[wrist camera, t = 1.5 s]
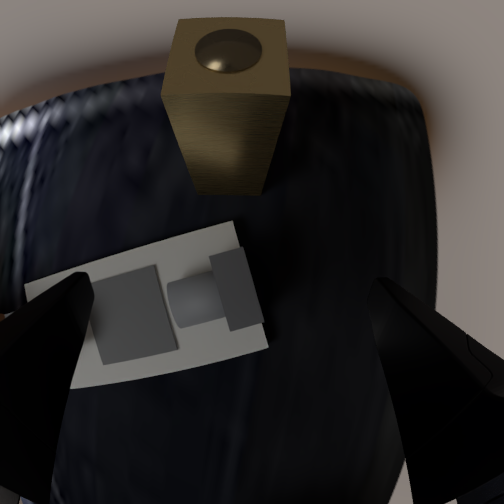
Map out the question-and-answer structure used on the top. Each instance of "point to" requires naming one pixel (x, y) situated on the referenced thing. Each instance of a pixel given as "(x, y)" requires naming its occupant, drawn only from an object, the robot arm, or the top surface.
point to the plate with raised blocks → (166, 307)
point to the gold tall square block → (227, 99)
